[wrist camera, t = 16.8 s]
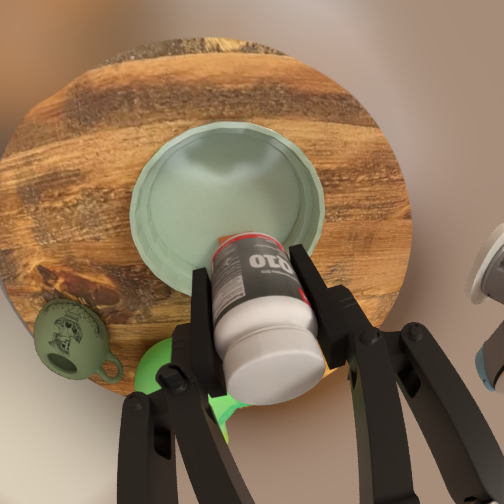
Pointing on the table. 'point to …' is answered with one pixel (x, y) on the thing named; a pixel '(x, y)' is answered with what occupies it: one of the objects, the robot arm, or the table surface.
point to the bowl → (222, 196)
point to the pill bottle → (262, 322)
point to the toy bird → (147, 385)
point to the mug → (73, 341)
